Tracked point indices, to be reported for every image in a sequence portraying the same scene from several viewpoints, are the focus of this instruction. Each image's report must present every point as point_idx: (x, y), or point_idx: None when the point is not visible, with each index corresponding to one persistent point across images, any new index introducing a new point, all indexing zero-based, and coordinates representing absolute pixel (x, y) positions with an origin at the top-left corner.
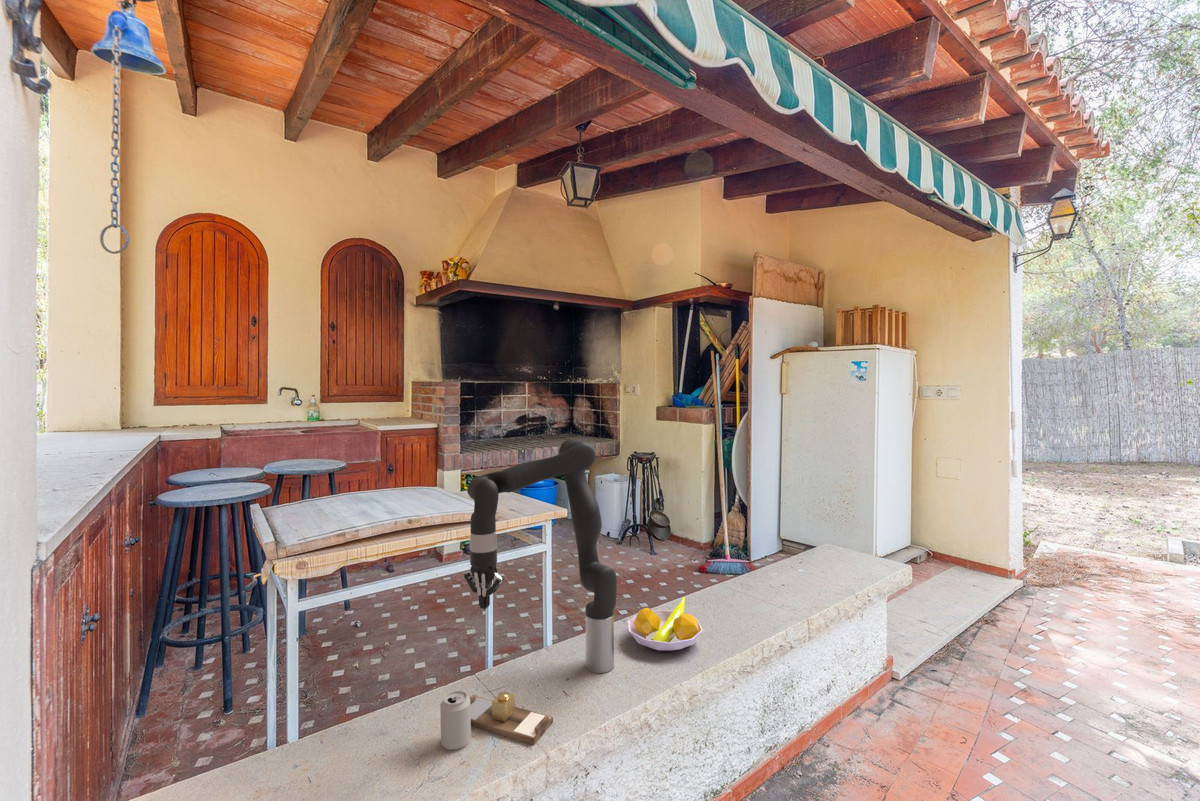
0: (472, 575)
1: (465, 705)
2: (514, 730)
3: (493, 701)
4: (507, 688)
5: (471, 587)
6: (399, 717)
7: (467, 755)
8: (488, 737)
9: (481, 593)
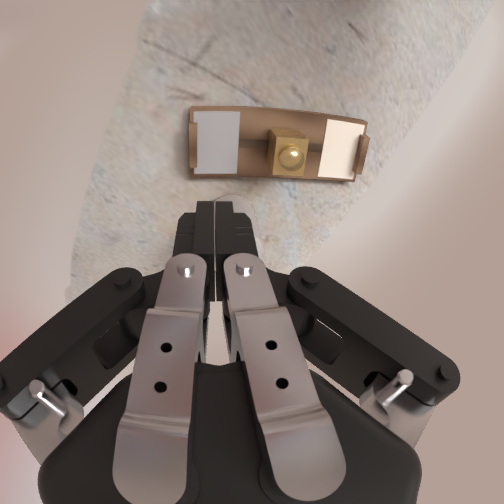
0: (75, 425)
1: (261, 257)
2: (318, 174)
3: (275, 173)
4: (226, 41)
5: (110, 348)
6: (100, 204)
7: (264, 227)
8: (274, 185)
9: (208, 313)
